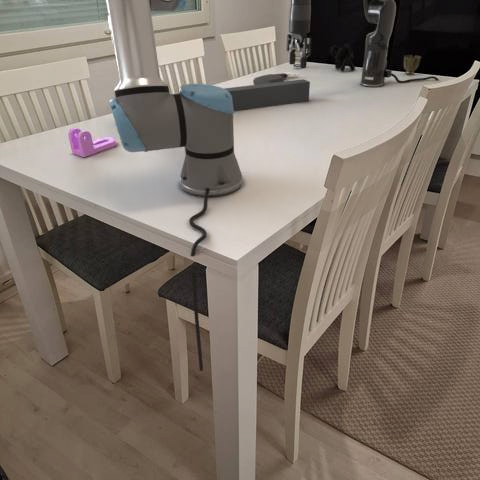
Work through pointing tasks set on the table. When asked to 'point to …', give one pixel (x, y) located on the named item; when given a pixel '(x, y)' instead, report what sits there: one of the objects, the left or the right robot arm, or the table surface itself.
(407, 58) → the cup
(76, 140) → the bracket
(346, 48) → the black irregular legged piece
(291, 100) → the bar
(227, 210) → the table surface
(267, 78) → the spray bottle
